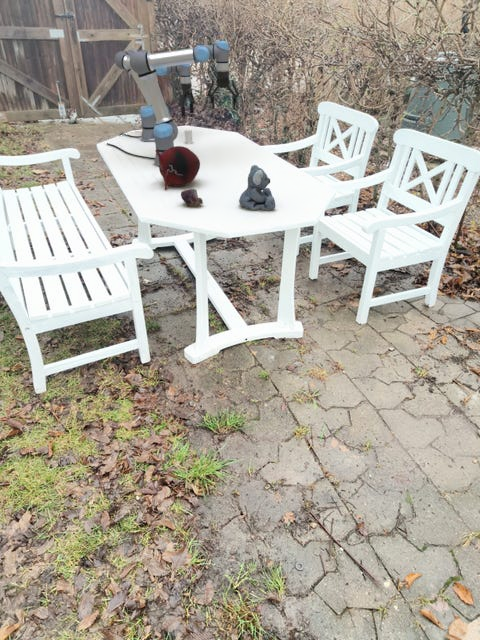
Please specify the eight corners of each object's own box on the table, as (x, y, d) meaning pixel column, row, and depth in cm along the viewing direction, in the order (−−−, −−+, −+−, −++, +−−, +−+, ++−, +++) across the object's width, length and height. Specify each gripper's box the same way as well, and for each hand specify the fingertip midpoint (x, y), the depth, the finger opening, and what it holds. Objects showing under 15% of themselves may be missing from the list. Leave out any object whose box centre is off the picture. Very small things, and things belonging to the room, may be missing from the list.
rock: (196, 202, 238) (178, 205, 233) (194, 185, 234) (176, 188, 230) (205, 205, 228) (187, 208, 224) (203, 188, 224) (185, 191, 220)
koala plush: (276, 211, 223) (277, 171, 212) (240, 212, 222) (240, 172, 211) (271, 199, 237) (272, 161, 226) (237, 200, 236) (237, 162, 225)
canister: (191, 143, 339) (190, 131, 334) (184, 143, 340) (183, 131, 335) (193, 142, 343) (192, 129, 338) (186, 141, 344) (186, 129, 339)
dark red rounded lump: (157, 151, 264) (151, 150, 240) (196, 143, 263) (194, 140, 240) (167, 188, 271) (161, 190, 247) (205, 180, 270) (203, 181, 246)
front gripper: (243, 70, 275) (244, 108, 287) (204, 70, 279) (206, 107, 291) (241, 71, 269) (242, 110, 281) (201, 71, 273) (203, 109, 285)
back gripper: (182, 85, 318) (184, 117, 330) (198, 81, 337) (199, 112, 349) (172, 85, 320) (175, 117, 332) (189, 80, 339) (191, 111, 351)
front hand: (223, 108), depth 286 cm, fingers open, 13 cm apart
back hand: (187, 114), depth 340 cm, fingers open, 13 cm apart
